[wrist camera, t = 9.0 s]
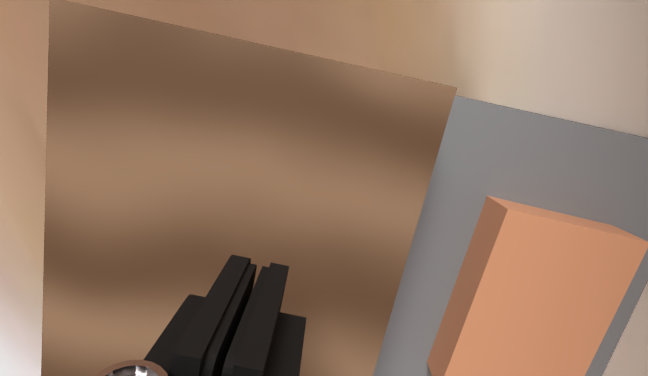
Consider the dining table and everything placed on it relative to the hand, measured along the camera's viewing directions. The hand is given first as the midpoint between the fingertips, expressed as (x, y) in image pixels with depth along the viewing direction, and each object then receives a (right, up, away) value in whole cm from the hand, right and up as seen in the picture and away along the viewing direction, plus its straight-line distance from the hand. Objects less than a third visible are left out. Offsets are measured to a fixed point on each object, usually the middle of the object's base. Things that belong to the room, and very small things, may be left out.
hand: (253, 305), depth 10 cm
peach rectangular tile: (+11, -2, +5) cm, 13 cm away
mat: (+11, -1, +7) cm, 13 cm away
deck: (-2, +1, +7) cm, 7 cm away
